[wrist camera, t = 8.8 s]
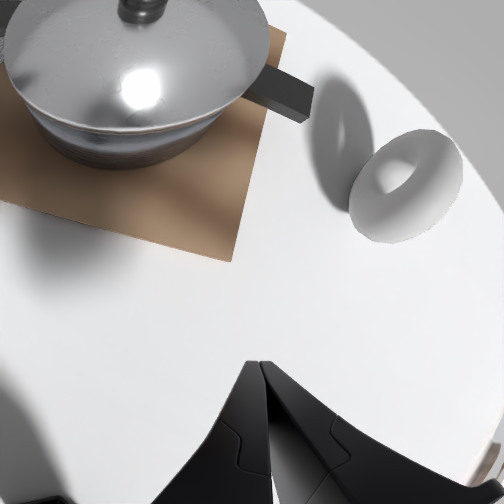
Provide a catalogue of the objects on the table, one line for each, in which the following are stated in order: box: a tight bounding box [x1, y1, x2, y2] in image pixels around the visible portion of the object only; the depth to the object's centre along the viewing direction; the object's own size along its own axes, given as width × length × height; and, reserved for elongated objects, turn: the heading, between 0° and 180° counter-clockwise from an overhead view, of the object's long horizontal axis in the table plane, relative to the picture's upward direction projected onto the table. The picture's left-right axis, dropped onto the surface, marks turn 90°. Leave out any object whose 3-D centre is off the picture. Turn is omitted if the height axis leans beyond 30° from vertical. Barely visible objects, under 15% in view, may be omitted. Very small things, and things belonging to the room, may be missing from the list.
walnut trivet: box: [0, 25, 287, 262], centre depth 17 cm, size 20×20×1 cm
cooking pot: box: [0, 0, 314, 171], centre depth 14 cm, size 14×22×5 cm, turn 76°
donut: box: [349, 129, 463, 244], centre depth 20 cm, size 10×4×10 cm, turn 146°
